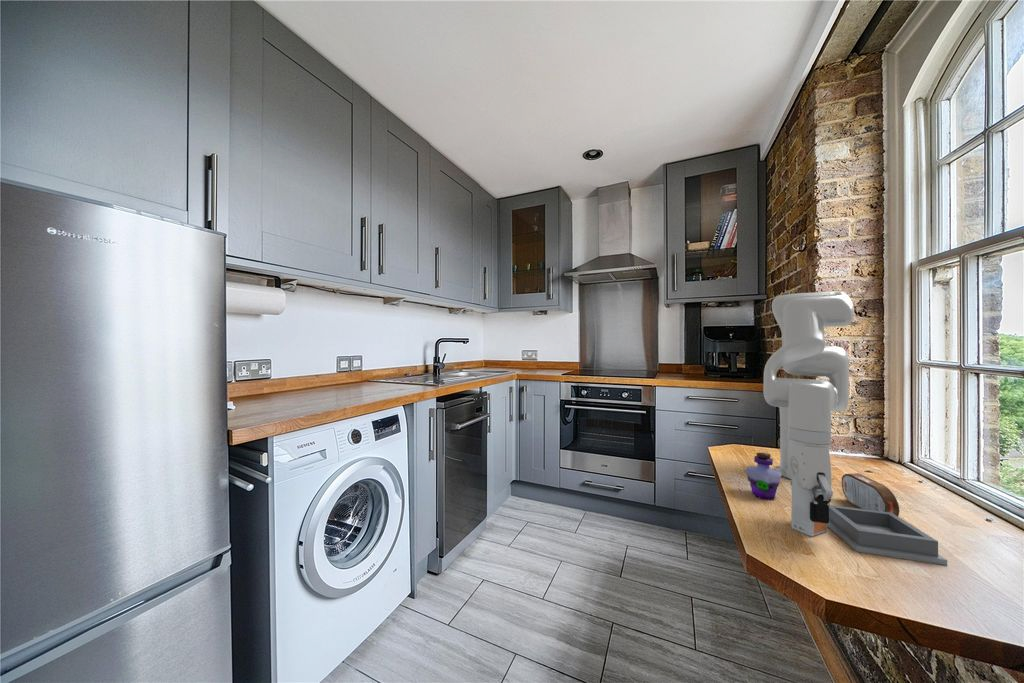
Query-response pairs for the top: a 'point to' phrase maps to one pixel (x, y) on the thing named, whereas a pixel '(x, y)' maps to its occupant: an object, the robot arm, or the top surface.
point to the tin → (868, 494)
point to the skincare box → (804, 511)
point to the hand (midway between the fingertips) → (809, 512)
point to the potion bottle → (763, 477)
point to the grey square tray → (883, 534)
